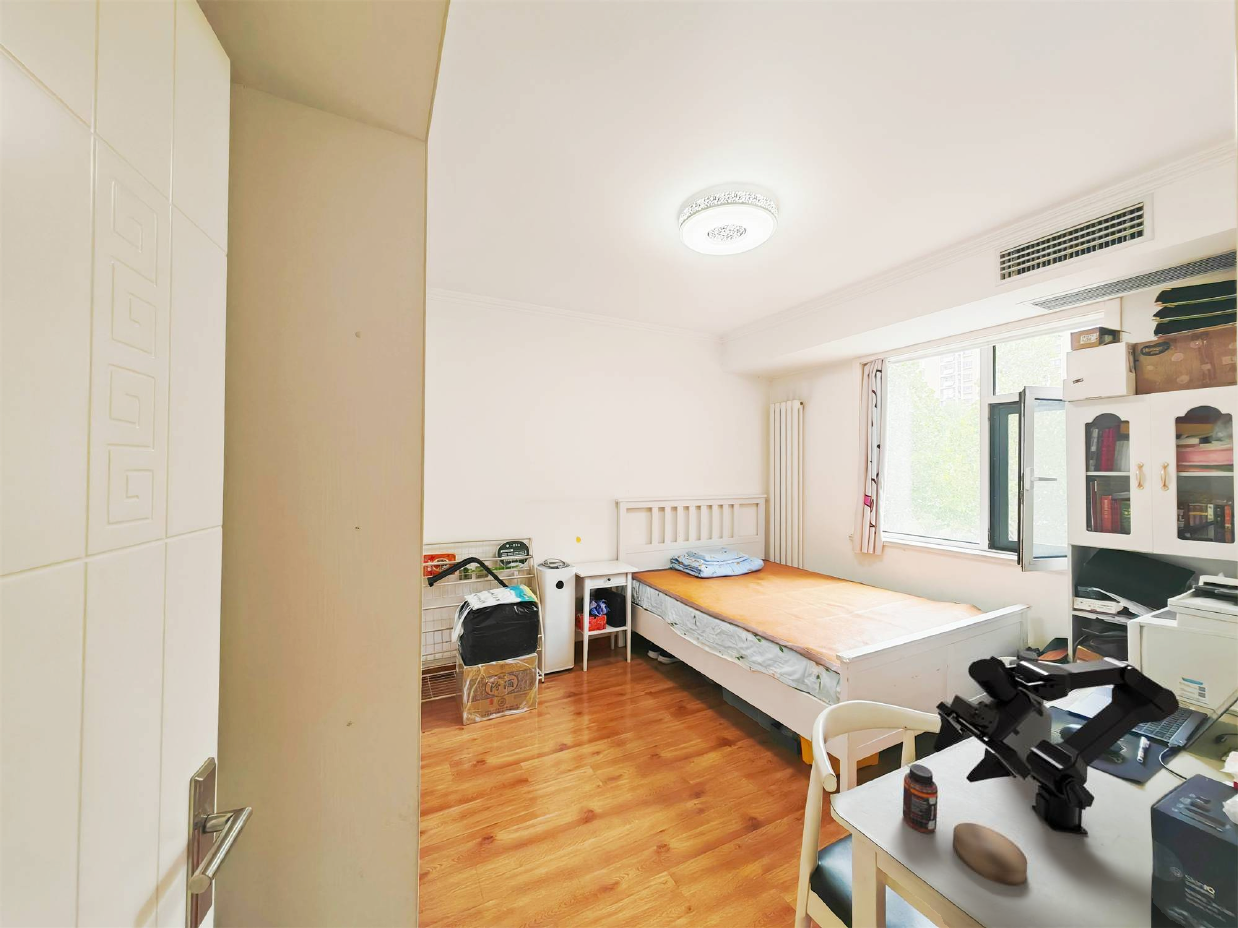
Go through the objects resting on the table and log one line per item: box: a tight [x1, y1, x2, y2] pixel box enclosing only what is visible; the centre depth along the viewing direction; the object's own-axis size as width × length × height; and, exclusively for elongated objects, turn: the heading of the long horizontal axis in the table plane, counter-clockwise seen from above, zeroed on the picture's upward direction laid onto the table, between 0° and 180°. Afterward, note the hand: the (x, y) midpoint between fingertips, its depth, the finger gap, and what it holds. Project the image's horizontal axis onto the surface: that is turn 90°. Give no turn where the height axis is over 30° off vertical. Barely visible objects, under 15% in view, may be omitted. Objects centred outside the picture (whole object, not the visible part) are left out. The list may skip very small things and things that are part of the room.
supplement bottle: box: [902, 763, 939, 834], centre depth 97 cm, size 6×6×11 cm
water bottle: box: [1003, 648, 1053, 761], centre depth 117 cm, size 10×10×28 cm
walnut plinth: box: [952, 822, 1028, 886], centre depth 88 cm, size 11×11×2 cm
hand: (950, 764), depth 97 cm, fingers open, 9 cm apart
